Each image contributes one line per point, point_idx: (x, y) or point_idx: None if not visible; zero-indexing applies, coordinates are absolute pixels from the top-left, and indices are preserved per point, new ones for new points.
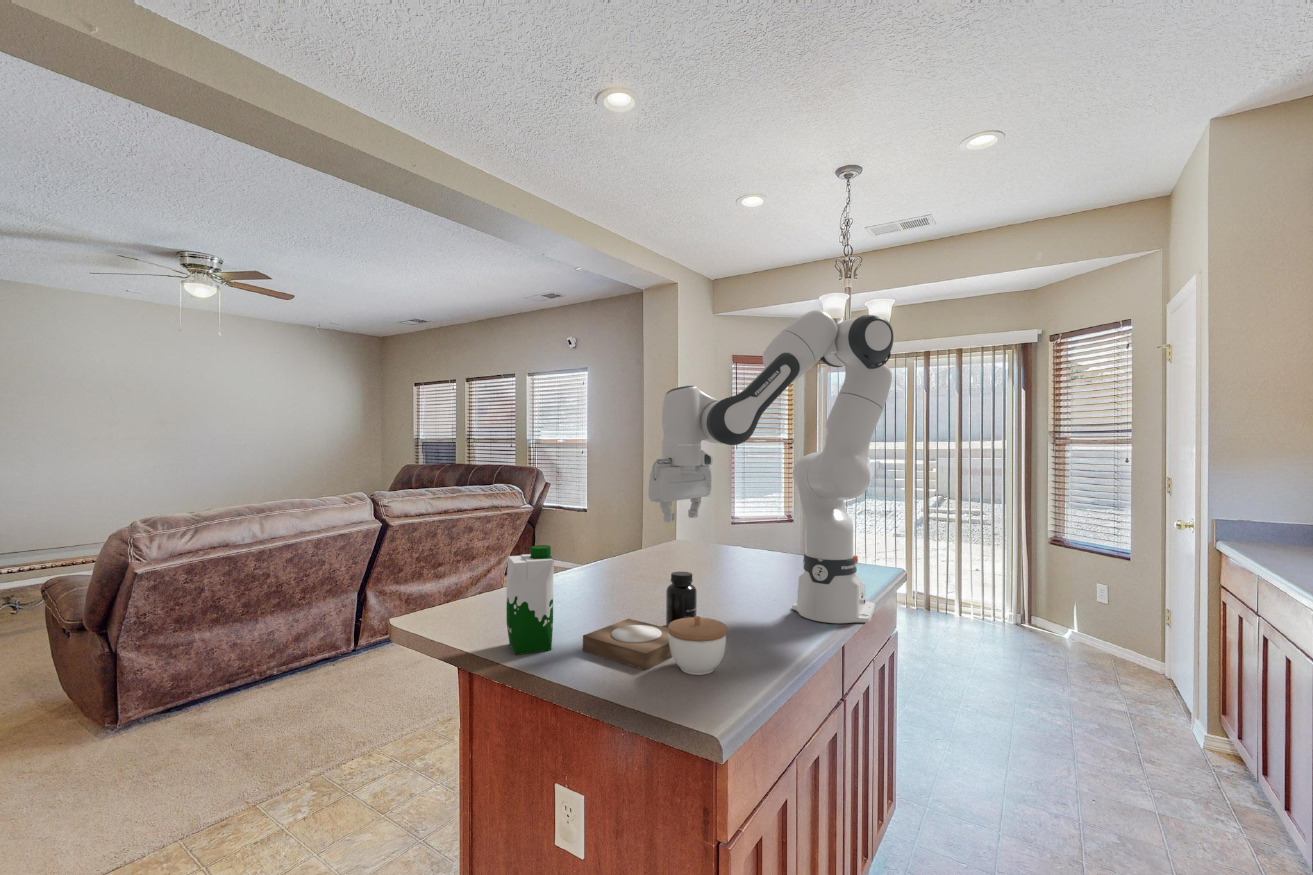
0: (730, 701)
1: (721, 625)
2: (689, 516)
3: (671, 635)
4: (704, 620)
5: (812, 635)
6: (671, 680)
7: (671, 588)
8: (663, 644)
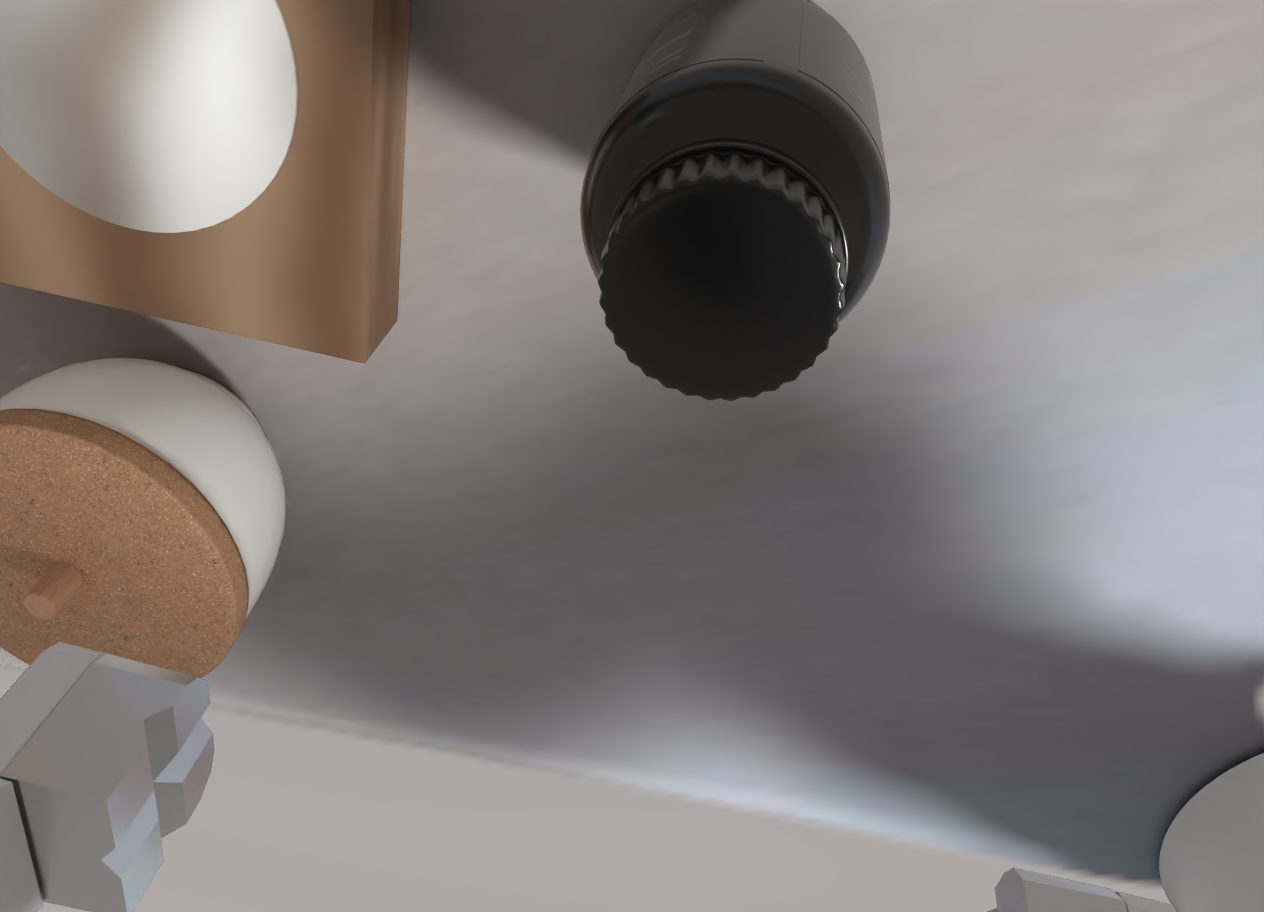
0: None
1: None
2: (1007, 892)
3: None
4: (159, 587)
5: (919, 794)
6: (3, 383)
7: (601, 177)
8: (103, 297)
